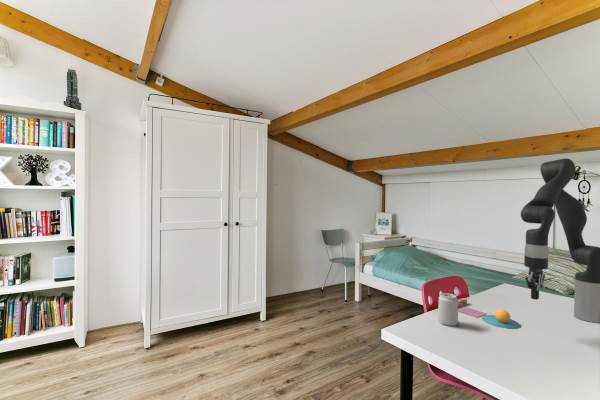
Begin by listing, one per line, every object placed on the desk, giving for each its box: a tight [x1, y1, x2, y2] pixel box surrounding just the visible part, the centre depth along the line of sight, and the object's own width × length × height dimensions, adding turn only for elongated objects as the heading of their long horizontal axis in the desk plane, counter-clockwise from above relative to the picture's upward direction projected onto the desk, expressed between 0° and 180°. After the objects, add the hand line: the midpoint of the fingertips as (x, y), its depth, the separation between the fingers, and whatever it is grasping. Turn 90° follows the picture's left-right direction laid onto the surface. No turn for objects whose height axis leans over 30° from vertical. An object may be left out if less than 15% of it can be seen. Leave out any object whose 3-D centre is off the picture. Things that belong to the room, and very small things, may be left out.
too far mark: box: [458, 307, 488, 318], centre depth 140 cm, size 9×9×1 cm
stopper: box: [457, 297, 468, 308], centre depth 147 cm, size 20×2×2 cm, turn 124°
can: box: [437, 292, 459, 327], centre depth 127 cm, size 8×8×12 cm
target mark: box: [481, 314, 522, 330], centre depth 130 cm, size 14×14×1 cm
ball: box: [494, 308, 511, 323], centre depth 130 cm, size 6×6×6 cm
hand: (534, 298), depth 120 cm, fingers closed
